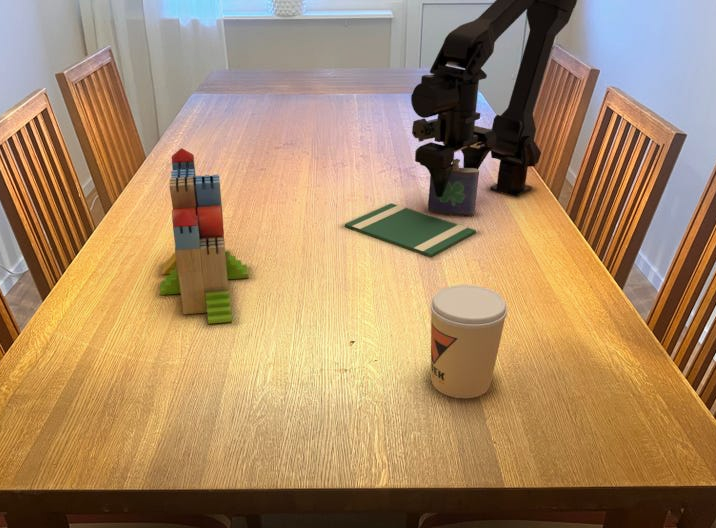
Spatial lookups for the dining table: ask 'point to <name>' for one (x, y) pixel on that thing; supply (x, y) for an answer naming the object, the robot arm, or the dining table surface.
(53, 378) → the dining table surface
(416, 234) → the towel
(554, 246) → the dining table surface
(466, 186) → the flask
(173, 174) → the block set
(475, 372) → the coffee cup
